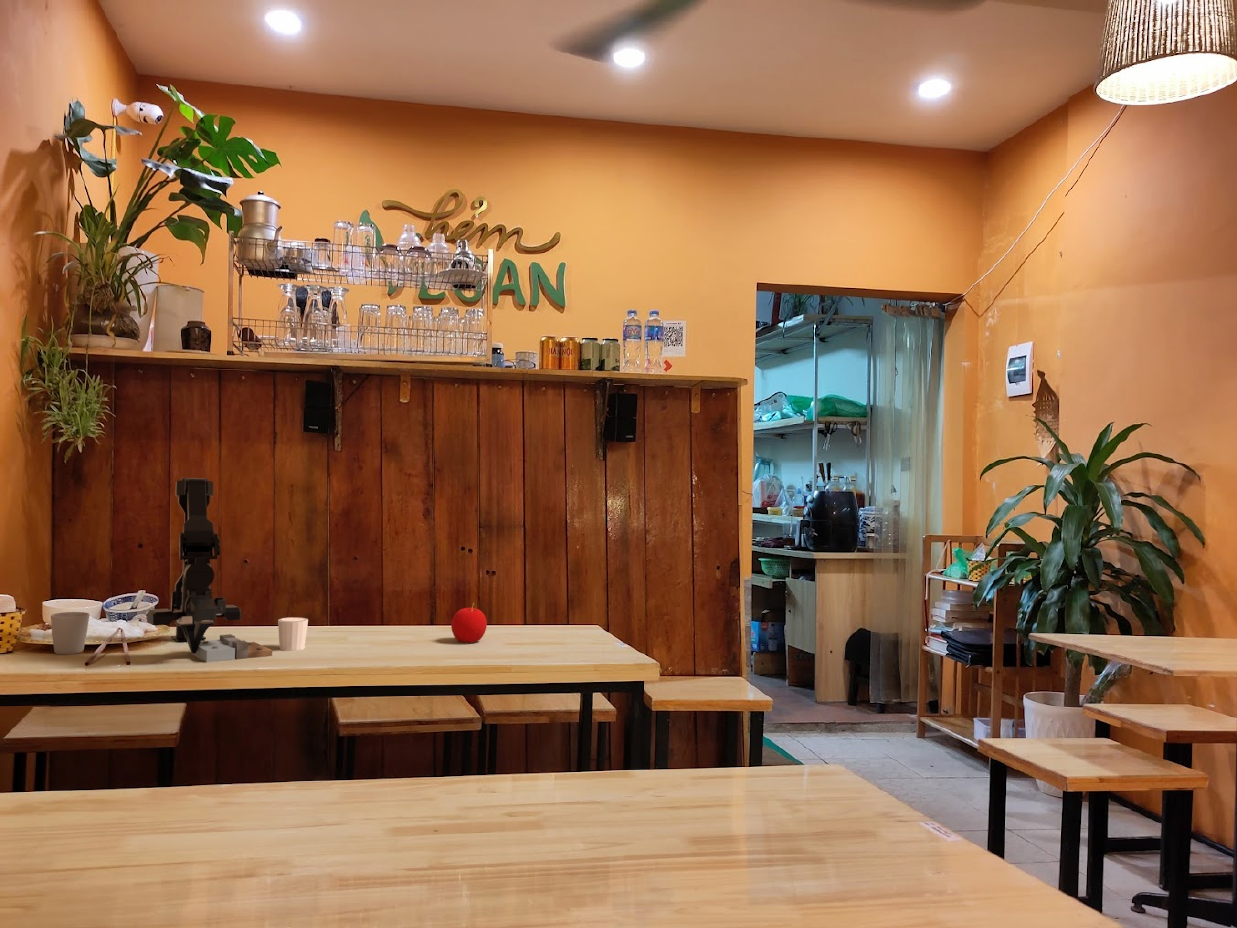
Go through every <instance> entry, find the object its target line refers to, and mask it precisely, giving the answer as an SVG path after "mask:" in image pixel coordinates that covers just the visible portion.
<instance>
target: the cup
mask: <svg viewBox="0 0 1237 928" xmlns="http://www.w3.org/2000/svg"><path fill="white" fill-rule="evenodd" d="M89 620H90V613H89V612H85V611H65V612H57V613H52V614H51V615H50V624H51V635H52V644H53V651H54V653H55V654H57V655H76V654H80V653H82V652H83V651H84V649H85V643H86V638H87V633H88V628H89V627H88V626H89Z"/></svg>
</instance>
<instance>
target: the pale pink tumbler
mask: <svg viewBox="0 0 1237 928" xmlns="http://www.w3.org/2000/svg"><path fill="white" fill-rule="evenodd" d="M308 622H309V619H308V618H305V617H297V616H295V617H293V616H292V617H291V616H290V617H283V618H279V619H277V625H278V627H277V629H278V645H279V650H281V651H286V652H287V651H289V652H291V651H292V652H293V651H303V650H305V647H306V641H307V640H306V638H307V633H308Z"/></svg>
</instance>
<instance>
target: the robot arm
mask: <svg viewBox="0 0 1237 928" xmlns="http://www.w3.org/2000/svg"><path fill="white" fill-rule="evenodd" d="M214 484H215V482H214V481H212V480H209V479H208V477H207V478H205V477H204V478H203V477H201V478H200V477H198V478H197V477H181V480H176V481H175V491H174V492H175V493H174V494H175V497H177V504H178V505H179V507H180V508H181V510H182V512H183V515H184V516H183V518H184V520H183V521H184V522H183V527H182V532H179V540H178V541H179V542H178V543H179V544H178V545H179V549H178V551H179V555H178V556H179V560H180V561H181V560H182V571H181V575H180V576H179V578H178V579H177V580H176V582H175V584H174V590H172V591H171V598H170V601H171V602H170V609H169V608H154V609H152V608H151V609H150V610H148V612H147V614H146V623H148V624H150V625H152V626H168V625H170V624H171V623H173V622H174V625H175V626H176V628H175V629H176V630H175V635H171V636H170V637H171V639H173V640H174V641H176V642H178V643H179V642H181V643H182V642H187V644H188V648H189V650H190V654H191V653H192V655H193V654H195V653H196V652H197V649H198V647H199V645H200V642H201V641H206V639H207V637H206V636H204V635H205V633H206V632H207V630H208V629H209V628H210V627H211V626H215V624H216V622H215V621H216V620H217V618H224V619H225V620H227V621H238V620H239V621H240V620H242V613H243V611H242V609H241V608H240V607H239V606H238V605H235V604H227V599H226V597H224V596H219V597H217V596H216V597H215V598H213V595H212V594H213V592H212V591H213V590H212V589H211V584H212V583H213V582H214V580H215V579H214V578H215V571H214V570H213V568H212V563H211V560H218V556H220V555H221V544H220V542H221V541H220V537H219V536H218V535H219V533H217V532H215V528H214V527H215V526H214V523H213V522H212V521H211V520H210V519H208V506H209V505H210V504H211V503H210V502H211V498H213V497H214V489H215V488H214V487H215V485H214Z"/></svg>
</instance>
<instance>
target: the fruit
mask: <svg viewBox="0 0 1237 928" xmlns="http://www.w3.org/2000/svg"><path fill="white" fill-rule="evenodd" d="M474 605H475V602H472V606H471V607H464V608H461V609H459V610H457V612H455V614H454V616H453V618H452V620H451V631H452V633H453V637H454V638H455V640H456V641H457V642H460V643H464V644H465V643H466V644H467V643H468V644H471V643H474V642H479V641H481V639H482V638H483V637H484V635H485V633H486V631H487V625H488V624H487V621H488V620H487V618H486V615H485V614H484V613H483V611H481V610H480V609H478V608H475V607H474Z"/></svg>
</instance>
